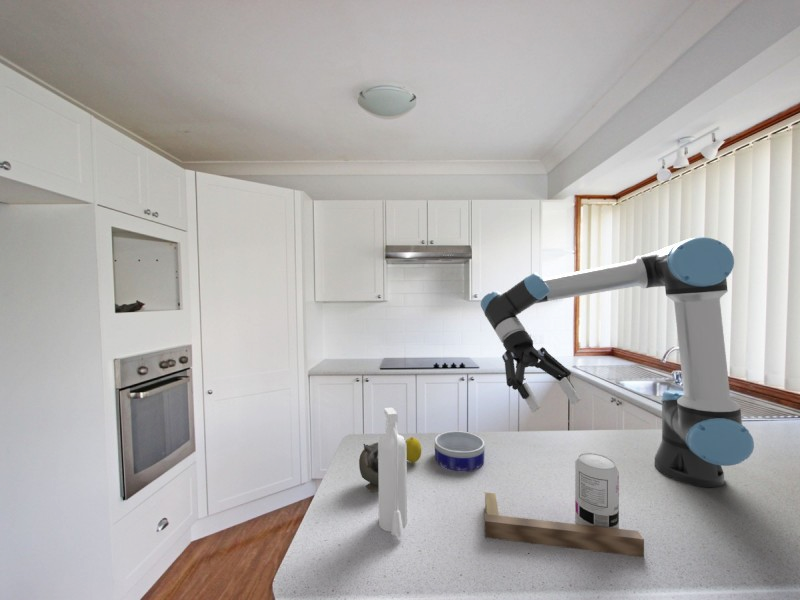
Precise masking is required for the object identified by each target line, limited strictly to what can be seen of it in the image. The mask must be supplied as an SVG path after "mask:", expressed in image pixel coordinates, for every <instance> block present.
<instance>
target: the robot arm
mask: <svg viewBox="0 0 800 600" xmlns="http://www.w3.org/2000/svg"><path fill="white" fill-rule="evenodd" d="M734 267H735V258H734V254H733V253H732V250H731V249H730V248H729V247H728V246H727V245H726V244H725V243H724V242H723V243H722V242H721V241H719V240H717V239H715V238H711V237H702V236H701V237H700V236H699V237H691V238H687V239H682V240H680V241H679V242H677V243H674V244H671V245H668V246H666V247H664V248H662V249H659V250H657V251H653V252H650V253H647V254H644V255H637V256H635V258H634V259H633V260H630V261H625V262H620V263H614V264H610V265H605V266H600V267H595V268H590V269H589V268H588V269H585V270H578V271H574V272H568V273H564V274H559V275H555V276H550V277H544V278H542V277H541V275H540V274H539V273H537V272H533V273H531V274H530V275H528V276H526V277H525V278H523V279H522V280H520V281H519V282H518V283H517V284H515V285H514V286H512V287H510V289H508V290H507V291H505V292H504V293H501V292H499V291H492V292H491V293H487V294H486V295H484V296H483V298H482V299H481V301H480V308H481V310H482V311H483V314H484V316H485V318H486V319H487V321H488V322H489V324H490V326H491V327H492V328H493V330H494V332H495V333H496V335H497V337H498V339H499V340H500V342H501V343H502V346H503V347H504V349H505V352H504V353H503V354H502V356H501V358H502V360H503V362H504V368H505V369H504V370H505V378H506V379H505V380H506V385H507V387H509V388H510V387H512V389H513V390H514V391H515V390H517V391H518V393H519V395H520V397H521V398H522V399H523V400H525V402H526V404H527V405H528V408H529V410H530V411H531V413H533V414H534V413H536V412H537V411H538V410H539V409H540V408H542V406H541V404H540V403H539V401H538V399H537V397H536V396H535V394H534V392H533V391H532V389H531V387H530V386H529V384H528V383H527V382H524V377H525V370H526V369H527V368H528V367H530V368H533V367H535V368H536V369H539V370H542V371H543V372H545V373H546V374H548V375H549V376H551V377H552V378H555V379H556V380H557V381H558V382H557V383H558V386H559V387H560V388H561V390H562V392H563V393H564V394H565V396H566V397H567V399H568V400H569V401H570V404H571V405H572V406H575V405H576V404H578V403H579V402H580V401H581V400H582V398H581V397H580V395H579V393H578V392H577V391H576V390H575V387H574V385H573V383H572V382H571V381H570V379H569V378H568V377H569V376H570V375H571V374H572V372H571V371H570V370H569V369H568V368H567V367H566V366H564V365H563V364H562V363H561V362H559V361H558V360H557V359H556V358H555V357H554V356H553V355H551V354H550V353H549V352H548V351H547V349H546V348H544V347H543V346H542V347H541V348H539V349H537V348H535V347H534V340H533V339H532V337H531V336H530V334H529V333H528V332H527V330H526V328H525V326H524V325H523V324H522V322H521V321H520V319H519V318H518V317H517V315H519V314H521V313H522V312H524V311H525V310H527V309H529V308H530V307H531V306H533V305H535V304H540V303H545V302H550V301H551V302H552V301H555V300H556V301H557V300H563V299H568V298H574V297H581V296H587V295H592V294H598V293H599V294H600V293H606V292H611V291H616V290H617V291H618V290H623V289H628V288H634V287H640V288H641V289H649V288H657V287H664V289H665V296H666V297H667V298H669V299H671V300H672V301H673V303H674V304H673V305H674V313H675V320H676V321H675V322H676V323H675V324H676V332H677V333H676V334H677V341H678V351H679V361H680V362H679V363H680V369H681V370H680V371H681V378H682V389H683V390H674V389H673V390H670V389H669V390H665V391H663V392H662V396H661V397H662V398H661V401H660V402H661V442H660V443H659V447H658V449H657V450H656V453H655V456H654V467H655V468H656V469H657V471H659V472H660V473H661V474H663V475H664V476H666V477H668V478H671V479H674V480H676V481H679V482H681V483H684V484H688V485H693V486H696V487H697V486H698V487H704V488H718V487H721V486H723V485H724V484H725V474H724V473H725V472H724V470H723V468H722V467H730V466H735V465H739V464H741V463H742V462H744V461H745V460H748V459H749V458H750V456H751V455H752V454H753V452H754V448H755V442H754V439H753V436H752V434H751V433H750V432H749V431H750V430H748V428H746V427H745V426H744V425H743V422H742V421H743V420H742V411H741V406H740V404H739V403H737V402H736V401H735V400H734V399H733V398H731V393H730V392H731V391H730V383H729V373H728V365H727V364H728V363H727V354H726V347H725V346H726V345H725V336H724V335H725V334H724V326H723V318H722V309H721V308H722V307H721V298H722V297H723V296H724V295H725V294H726V293H728V292H729V291H728V282H727V278H728V277H729V276H730V275H731V274H732V272H733V269H734ZM515 362H516V364H515Z"/></svg>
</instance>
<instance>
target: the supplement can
mask: <svg viewBox="0 0 800 600" xmlns="http://www.w3.org/2000/svg"><path fill="white" fill-rule="evenodd" d="M574 462H575V465H574V470H575V471H574V473H575V475H574V477H575V479H574V481H575V484H574V485H575V487H574V488H575V491H574V492H575V493H574V495H575V497H574V500H575V501H574V502H575V504H574V505H575V508H574V509H575V511H574V512H575V513H574V514H575V516H574V518H575V524H580V525H589V526H598V527H607V528H616V529H620V518H619V517H620V515H619V514H620V472H619V470H618V467H617V466H616V462H615V460H613V459H611V458H610V457H608V456H605V455H603V454H599V453H594V452H584V453H580V454H579V455H578V457H577V459H576V460H575V461H574Z"/></svg>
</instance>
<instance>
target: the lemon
mask: <svg viewBox="0 0 800 600" xmlns="http://www.w3.org/2000/svg"><path fill="white" fill-rule="evenodd" d="M405 442H406V445H407V461H408V462H410V464H414V463H415V462H417V461H418V460H420V458H421V455H422V445H421V443H420V441H419V440H418V439H417V438H415V437H414V436H411V437H409V438H408V439H406V440H405Z"/></svg>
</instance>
